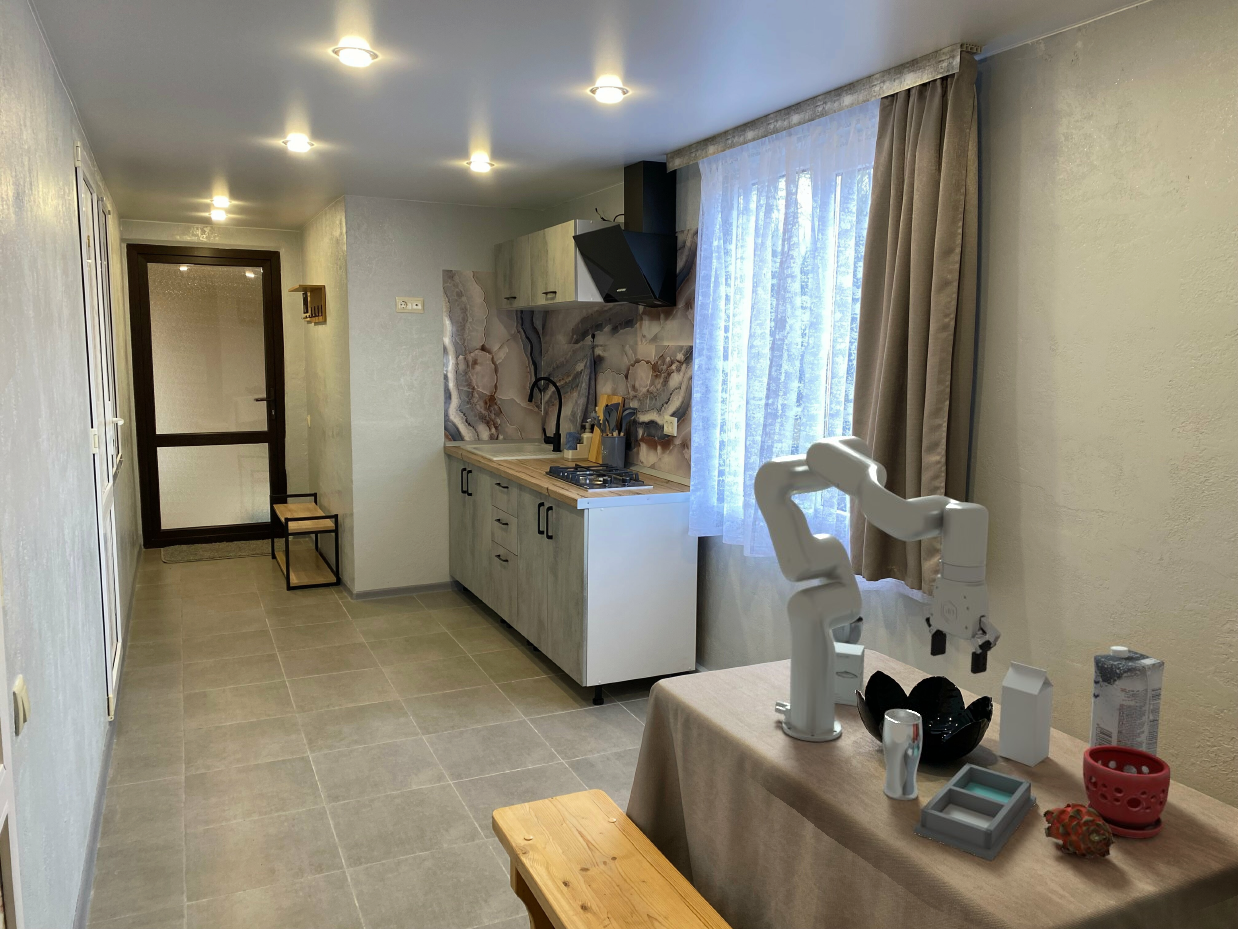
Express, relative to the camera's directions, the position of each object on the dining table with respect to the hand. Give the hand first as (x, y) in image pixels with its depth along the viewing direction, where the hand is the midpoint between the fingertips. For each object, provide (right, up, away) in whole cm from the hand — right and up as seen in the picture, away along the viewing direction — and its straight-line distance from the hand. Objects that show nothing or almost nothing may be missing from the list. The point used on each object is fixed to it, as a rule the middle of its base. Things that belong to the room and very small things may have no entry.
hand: (957, 663), depth 164 cm
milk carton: (+20, -23, +18) cm, 36 cm away
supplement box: (-8, -19, +48) cm, 52 cm away
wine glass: (-5, -17, +63) cm, 65 cm away
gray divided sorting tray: (+1, -26, -5) cm, 27 cm away
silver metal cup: (-9, -25, +4) cm, 27 cm away
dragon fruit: (+14, -28, -15) cm, 34 cm away
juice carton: (+32, -25, +5) cm, 41 cm away
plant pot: (+26, -27, -7) cm, 38 cm away
